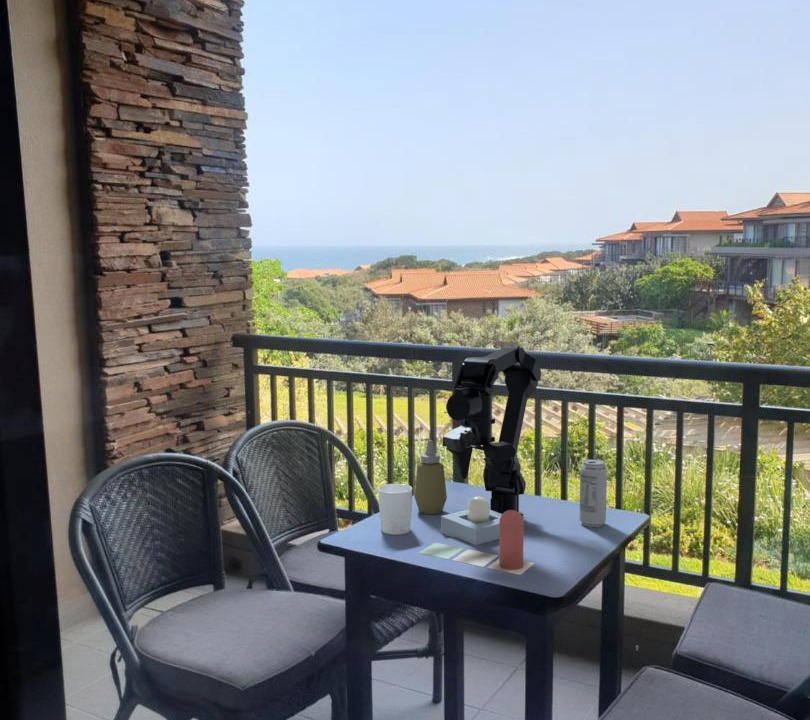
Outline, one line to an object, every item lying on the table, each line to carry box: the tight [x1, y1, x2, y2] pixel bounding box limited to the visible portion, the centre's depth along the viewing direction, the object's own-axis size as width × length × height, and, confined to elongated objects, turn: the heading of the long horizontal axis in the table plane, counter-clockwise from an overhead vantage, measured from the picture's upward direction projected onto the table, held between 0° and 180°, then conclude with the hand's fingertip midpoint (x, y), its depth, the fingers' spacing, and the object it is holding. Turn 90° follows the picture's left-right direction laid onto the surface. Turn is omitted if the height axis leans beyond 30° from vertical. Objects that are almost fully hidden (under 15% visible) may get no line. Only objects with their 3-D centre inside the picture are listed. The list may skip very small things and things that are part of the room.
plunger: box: [466, 495, 490, 524], centre depth 180 cm, size 5×5×6 cm
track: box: [418, 541, 535, 576], centre depth 165 cm, size 25×8×1 cm, turn 58°
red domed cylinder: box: [498, 510, 525, 570], centre depth 160 cm, size 5×5×11 cm
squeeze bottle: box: [413, 439, 448, 515], centre depth 197 cm, size 8×8×18 cm
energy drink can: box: [579, 458, 608, 528], centre depth 186 cm, size 6×6×15 cm
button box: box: [440, 508, 502, 546], centre depth 180 cm, size 12×12×4 cm
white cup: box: [377, 483, 413, 536], centre depth 183 cm, size 8×8×10 cm
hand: (477, 482), depth 179 cm, fingers open, 9 cm apart
